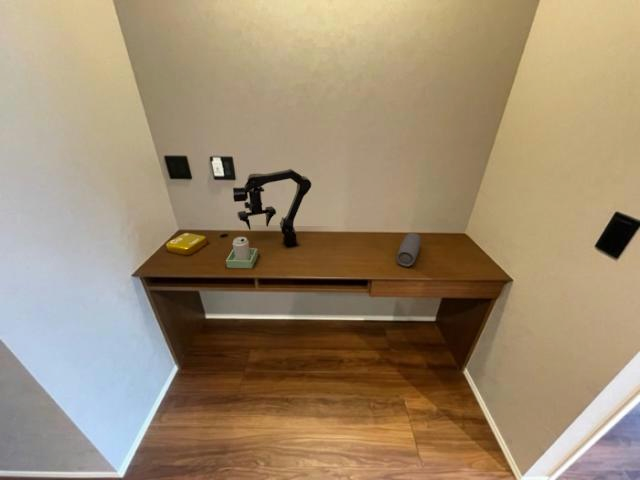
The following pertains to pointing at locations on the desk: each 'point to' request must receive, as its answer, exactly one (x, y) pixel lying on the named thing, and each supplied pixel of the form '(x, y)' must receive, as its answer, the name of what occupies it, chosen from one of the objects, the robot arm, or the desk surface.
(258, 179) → the robot arm
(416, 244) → the bluetooth speaker
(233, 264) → the tray
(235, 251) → the can
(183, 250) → the element tile
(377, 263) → the desk surface
